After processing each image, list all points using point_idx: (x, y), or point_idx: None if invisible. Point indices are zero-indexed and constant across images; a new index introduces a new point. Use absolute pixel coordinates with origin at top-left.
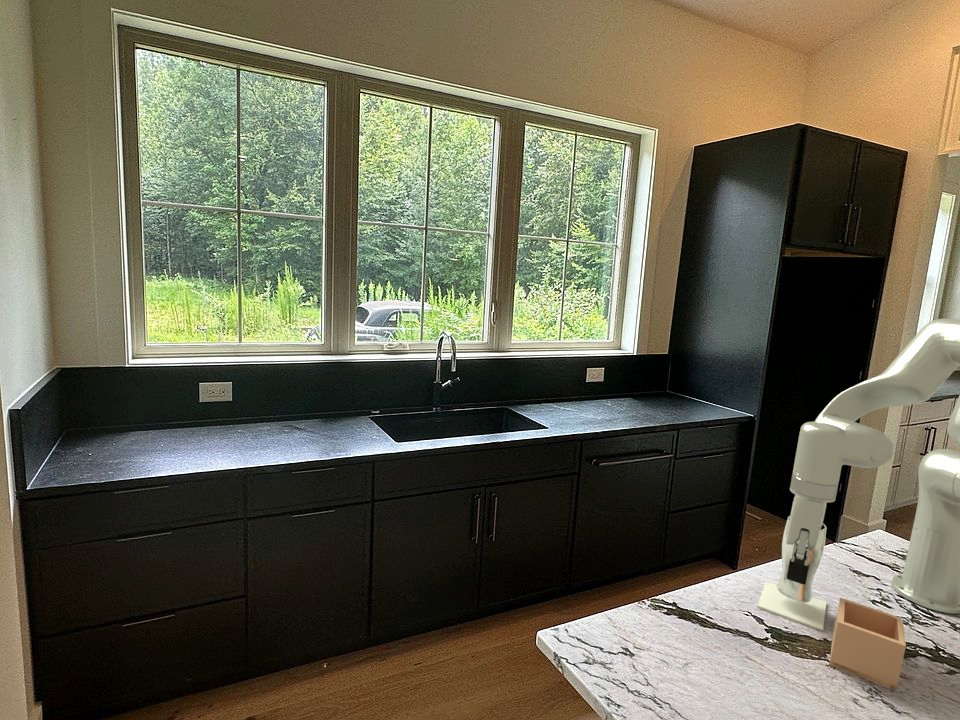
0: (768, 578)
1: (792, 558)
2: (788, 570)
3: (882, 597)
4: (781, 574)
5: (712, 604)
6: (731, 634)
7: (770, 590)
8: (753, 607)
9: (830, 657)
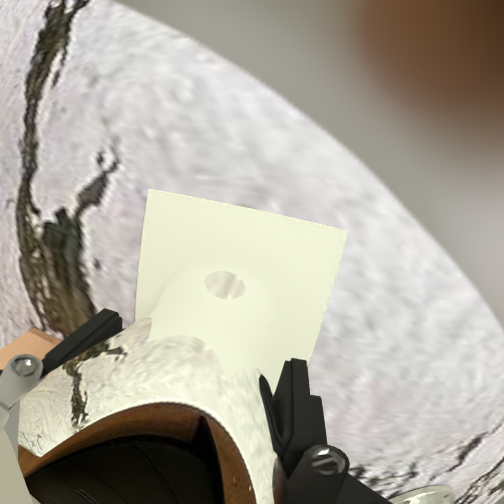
0: (389, 245)
1: (8, 366)
2: (84, 327)
3: (381, 479)
4: (201, 293)
5: (109, 68)
6: (20, 137)
7: (283, 242)
8: (146, 177)
9: (45, 336)
